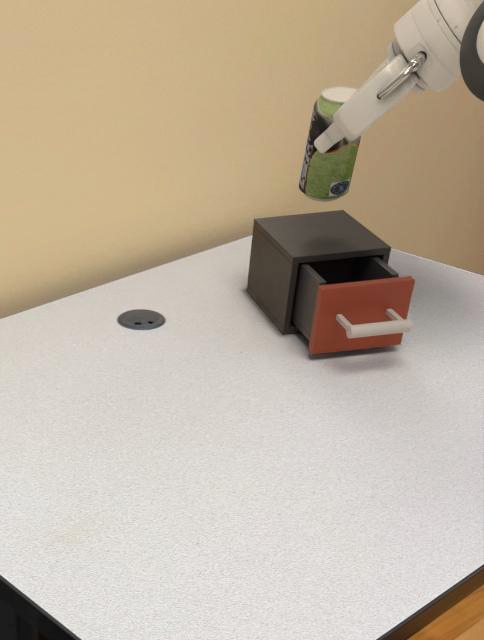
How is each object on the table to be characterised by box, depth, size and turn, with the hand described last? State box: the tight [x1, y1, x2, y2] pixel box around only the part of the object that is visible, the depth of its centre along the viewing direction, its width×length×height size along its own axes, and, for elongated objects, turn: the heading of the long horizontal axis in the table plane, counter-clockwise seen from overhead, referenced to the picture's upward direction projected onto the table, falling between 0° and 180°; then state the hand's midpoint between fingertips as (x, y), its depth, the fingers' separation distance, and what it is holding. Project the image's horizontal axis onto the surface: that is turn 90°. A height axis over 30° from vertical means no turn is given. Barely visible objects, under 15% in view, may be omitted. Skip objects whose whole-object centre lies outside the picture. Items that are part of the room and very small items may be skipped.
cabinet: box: [246, 209, 392, 335], centre depth 115 cm, size 15×12×10 cm
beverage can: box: [298, 85, 362, 203], centre depth 106 cm, size 6×7×12 cm
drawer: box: [291, 255, 416, 355], centre depth 106 cm, size 18×11×8 cm, turn 8°
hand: (324, 140), depth 106 cm, fingers closed on beverage can, 5 cm apart
